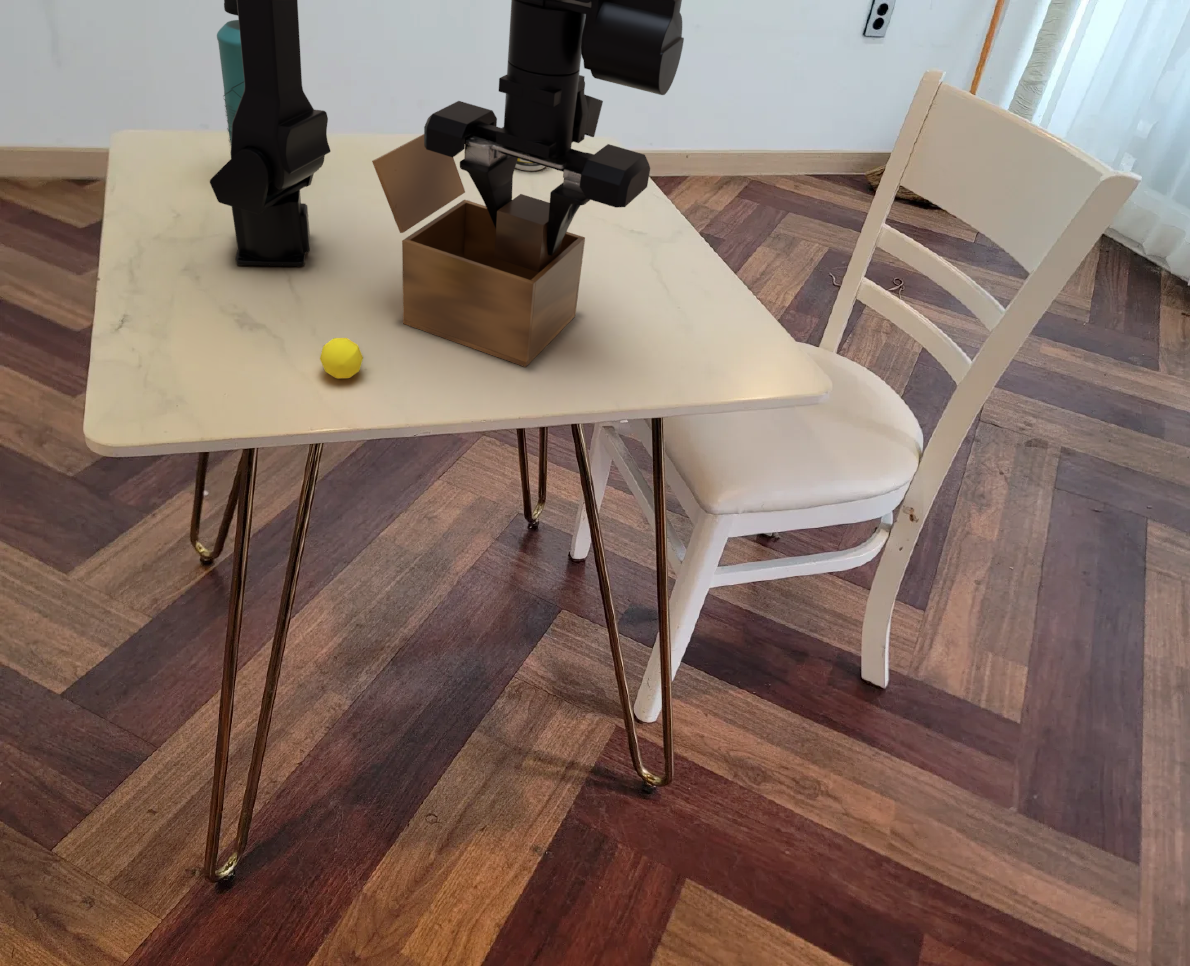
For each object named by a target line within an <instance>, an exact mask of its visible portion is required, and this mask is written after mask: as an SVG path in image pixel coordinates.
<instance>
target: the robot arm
mask: <svg viewBox="0 0 1190 966" xmlns="http://www.w3.org/2000/svg"><path fill="white" fill-rule="evenodd" d="M682 1H683V0H511V3H510V16H509V17H510V18H509V19H510V20H509V32H508V33H509V34H508V35H509V36H508V48H507V49H508V51H507V52H508V53H507V70H506V74H504V75H502V76H501V77H499V78H498V92H499V93H501V94H505V102H504V117H503V126H501V127H499V126H497V125H498V118H497V116H496V114H495V112H494V110H492V109H489V108H485V107H482V106H478V105H475V104H472V103H467V102H464V101H462V100H457V101H455V102H453V103H451V104H449V105H447V106H445V107H443V108H441V109H439V110H437V111H434V112H433V113H432V114H430V115H429V116H428V117H427V120H426V122H425V124H424V126H423V130H424V132H423V134H424V146H425V148H426V150H430V151H433V152H436V153H440V154H443V155H446V156H449V157H453V158H454V157H456V156H458V155H459V154H460V153H461V152H463V151H464V158H463V159H461V160H459V169H460V170H462V171H465V172H467V173H468V176H470V178H471V181H472V182H473V185H474V186H475V188H476V190H477V191H478V193H479V196H480V197H481V199H482V201H483V204H484V206H486V207H487V210H488V212H489V214H490V217H491V219H492V221H493V224H494V226H495V229H496V222H497V210H499V209H500V208H502V207H503V206H504V205H506V204H507V203H509V202H510V201H511V200H513V183H514V181H513V179H514V173H515V169H516V168H515V166H516V163H517V160H518V158H519V159H522V160H526V161H529V162H532V163H536V164H539V165H542V166H546V168H549V169H553V170H556V171H560V172H561V173H562V179H563V180H562V181H563V182H562V183H560V184H559V185H558V186H557V187H555V188H553V190H551V191H550V195H549V203H550V206H549V220H548V233H547V249H548V255H550V256H552V255H554V254H555V253H556V252H557V250H558V248H559V246H560V244H561V242H562V240H563V238H564V236H565V234H566V232H568V229H569V228H570V225H571V224H572V221H573V219H574V217H575V216H576V213H577V212H578V210H579V209H580V207H581V206H585V205H586V204H587V203H588V202H591V201H593V202H596V203H598V204H599V203H600V204H603V205H605V206H606V205H607V206H609V207H613V208H616V209H617V208H626V207H627V206H628V205H629V204H630V203H631V202H633V201H634V200H635V199H636V198H637V197H638V196H639V195H640V194H641V193H642V192H643V191H645V190H646V189H647V188H648V183H649V179H650V173H651V166H650V163H649V161H648V157H647V156H646V154H645V153H641V152H637V151H634V150H630V149H627V148H623V147H620V146H616V145H613V144H610V143H607V144H606V145H604V146H603V147H602V148H601V149H599V150H598V151H596V152H595V153H590V152H585V151H581V150H577V149H573V148H572V144H573V143H577V144H580V143H581V142H583V141H584V140H585V136H588V137H591V138H595V135H596V131H597V127H598V123H599V120H600V115H601V112H602V111H601V110H602V107H603V102H604V100H601V99H599V98H596V97H593V96H590V95H587V94H585V88H586V81H585V75H580V71H581V61H583V69H585V70H588V71H590V73H591V76H592V77H593V78H594V79H597V80H600V81H604V82H608V83H613V84H616V85H621V86H624V87H628V88H632V89H636V90H641V91H643V92H648V93H652V94H656V95H660V96H665V95H666V94H667V93H668V92H669V90H670V88H671V86H672V84H673V82H674V80H675V77H676V75H677V71H678V68H679V66H680V65H679V64H680V61H681V56H682V51H683V48H684V47H683V46H684V41H685V38H684V37H683V16H682V14H681V7H682ZM298 2H299V1H298V0H237V9H238V16H237V17H238V19H237V20H239V30H240V41H241V51H242V62H243V72H244V83H245V86H244V93H243V95H242V98H241V100H240V103H239V106H238V108H237V111H236V114H235V116H234V119H233V122H232V134H231V143H230V144H231V146H230V154H231V155H230V159H229V160H228V161H227V162H226V163H225V164H224V165H223V166H222V167H221V169H219V170H218V171H217V172H216V173H215V174H214V175H213V176H212V177H211V178H210V179H209V184H210V186H211V189H212V191H213V193H214V197H215V198H216V201H217V202H218V203H219V204H223V205H226V206H229V207H231V211H232V219H233V226H234V227H233V228H234V234H235V240H236V248H237V249H236V254H235V264H236V265H239V266H269V267H270V266H273V267H274V266H275V267H276V266H277V267H302V266H304V265H305V263H306V254H308V253H309V252H310V250H311V233H310V221H309V209H308V205H307V204H306V203H302V200H301V199H302V197H301V190H303V189H304V188H307V187H309V186H311V184H312V182H313V178H314V175H315V173H316V172H318V171H319V170H320V168H322V167H323V164H324V163H325V157H326V155H328V154H330V153H331V147H330V145H329V142H328V136H327V130H328V122H329V117H328V113H327V111H326V110H321V109H315V108H314V107H313V105H312V103H311V102H310V100H309V98H308V97H307V95H306V94H305V92H304V89H303V77H302V76H303V75H302V61H301V60H302V57H301V41H300V40H301V39H300V23H299V22H300V21H299V20H300V19H299V6H298V5H299V3H298Z"/></svg>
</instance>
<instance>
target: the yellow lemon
mask: <svg viewBox="0 0 1190 966" xmlns="http://www.w3.org/2000/svg"><path fill="white" fill-rule="evenodd" d="M363 359H364V356H363V353H362V351H361V349H360V346H359V344H357V343H356V342H354V341H352V340H351V339H349V338H348V337H333V338H332V339H330V340H329V341H327V342H326V343H325V344H324V345H323V346H322V349H321V353H320V355H319V360H320V362H321V365H322V367H323V370H324V372H325V373H326V374H329V375H330V376H331V377H333V378H335V379H350V378H352V377H353V376H354V375H356V374H357V373H359V372H360V370H361V368H362V367H361V366H362V363H363Z"/></svg>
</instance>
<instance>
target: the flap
mask: <svg viewBox="0 0 1190 966" xmlns="http://www.w3.org/2000/svg"><path fill="white" fill-rule="evenodd" d="M371 163H372V165H373V167H374V170H375V172H376V175H377V178H378V180H379V182H380V186H381V188H382V191H383V193H384V196H385V198H386V201H387V203H388V206H389V209H390V211H391V213H392V216H393V219H394V221H395V224H396V226H397V229H398V231H399V234H404V233H405V232H407V231H408V230H410V229H411V228H413V227H414V226H416V225H418V224H420V223H421V222H422V221H423V220H425V219H427V218H428V217H430V216H431V215H433V214H434V213H436V212H438V211H439V210H441V209H442V208H444V207H446V206H447V205H449V204H450V203H451V202H453V201H455V200H456V199H457V198H459V197H460V196H462V195H463V194H465V193H466V190H465V187H464V184H463V181H462V178H461V176H460V172H459V170H458V167H457V164H456V161H455V159H454V157H449V156H446V155H443V154H440V153H436V152H433V151H430V150H426V148H425V146H424V133H423V134H421V135H419V136H417V137H416V138H413V139H411V140H409V141H408V142H406V143H404V144H402V145H400V146H398V147H396V148H394V149H392V150H390V151H388V152H386V153H384V154H383V155H380V156H379V157H377V158H375V159H373V160H372V161H371Z"/></svg>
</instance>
